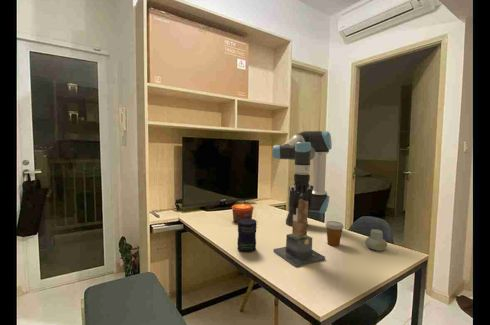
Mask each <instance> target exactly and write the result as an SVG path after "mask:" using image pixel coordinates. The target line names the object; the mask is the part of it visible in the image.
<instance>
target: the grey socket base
mask: <svg viewBox="0 0 490 325" xmlns="http://www.w3.org/2000/svg"><path fill="white" fill-rule="evenodd" d="M285 241H286V242H285V244H286V245H285V246H282V247H277V248H273V253H275V254H276V256H279V257H280V258H282V259H283V260H284V261H286V262H287V263H289V264H290V265H292V266H293V267H295V268H297V267H301V265H302V266H305V264H306V265H309V264H313V263H317V262H322V261H325V260H326V256H325V255H323V254H321V253H319V252H317V251H315V250H314V249H313V237H312V236H309V235H307V238H302V239H297V238H295V237H293V236H292V233H289V234H286V240H285Z"/></svg>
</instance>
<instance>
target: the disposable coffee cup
mask: <svg viewBox="0 0 490 325" xmlns="http://www.w3.org/2000/svg"><path fill="white" fill-rule="evenodd" d="M325 227H326V240H327V245H329V246H332V247H339V246H340V245H341V238H342V233H343V229H344V225H343V223H342V222H339V221H336V220H335V221H334V220H329V221H326V223H325Z"/></svg>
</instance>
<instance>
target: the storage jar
mask: <svg viewBox="0 0 490 325" xmlns="http://www.w3.org/2000/svg"><path fill="white" fill-rule="evenodd" d="M237 234H238V235H237V243H236V244H237V250H238V252H240V253H245V254H247V253H248V254H249V253H253V252H255V251H256V250H257V248H256V246H257V236H256V235H257V220H256V219H253V218H252V219H248V218H245V219H240V220H238V223H237Z"/></svg>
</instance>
